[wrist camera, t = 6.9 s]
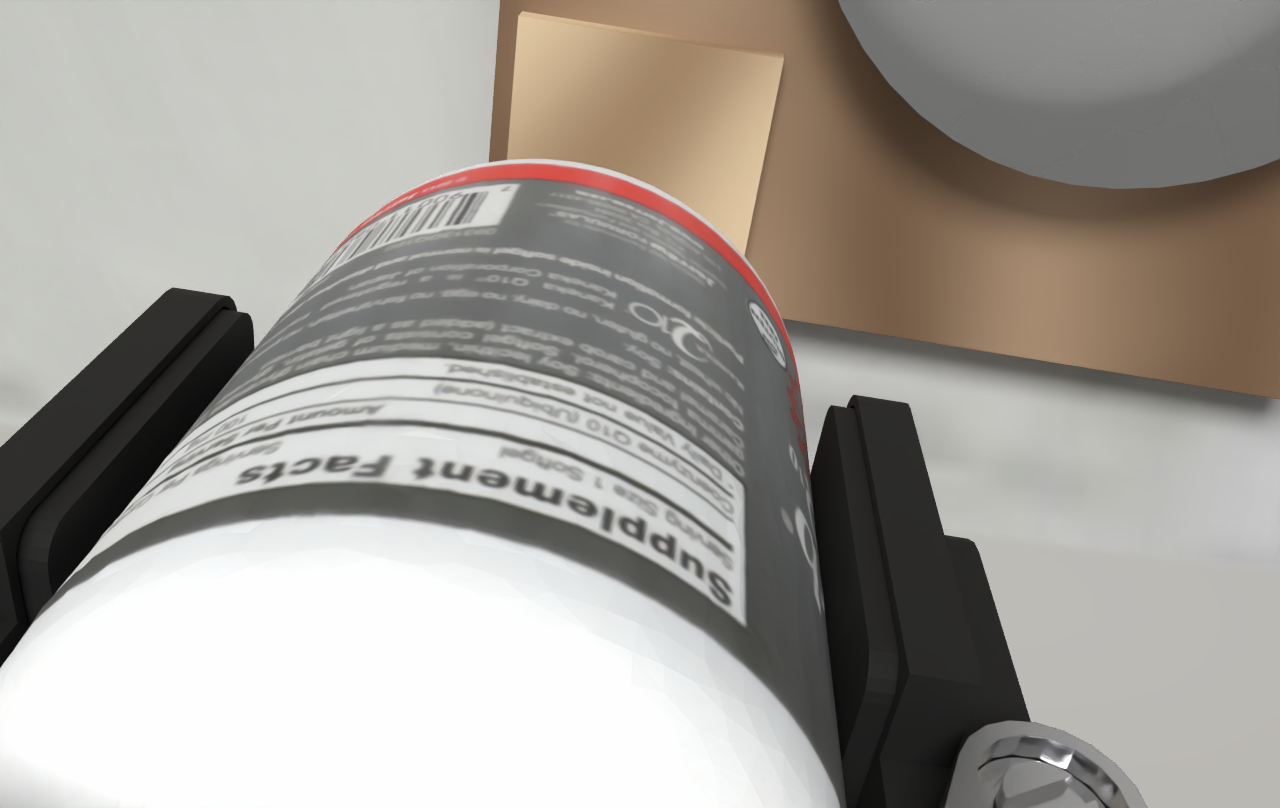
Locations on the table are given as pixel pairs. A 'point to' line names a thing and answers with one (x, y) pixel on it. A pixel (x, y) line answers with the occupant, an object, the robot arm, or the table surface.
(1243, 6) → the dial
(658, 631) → the pill bottle
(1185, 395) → the table surface
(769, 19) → the dial board
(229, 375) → the robot arm
